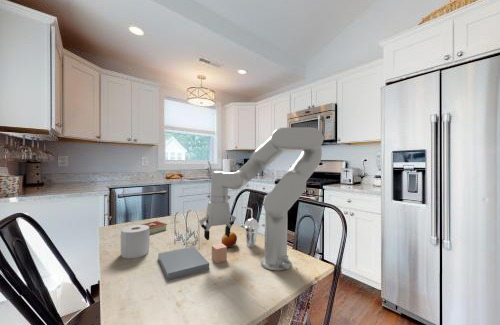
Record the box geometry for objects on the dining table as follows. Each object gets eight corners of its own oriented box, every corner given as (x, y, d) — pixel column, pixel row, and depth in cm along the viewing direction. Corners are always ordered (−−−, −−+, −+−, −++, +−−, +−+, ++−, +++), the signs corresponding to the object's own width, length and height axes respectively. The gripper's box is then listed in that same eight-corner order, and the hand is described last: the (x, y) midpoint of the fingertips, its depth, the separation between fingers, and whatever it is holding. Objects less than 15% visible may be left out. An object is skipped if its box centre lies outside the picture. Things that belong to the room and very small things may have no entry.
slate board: (209, 269, 89) (209, 263, 89) (167, 280, 80) (167, 273, 80) (193, 251, 106) (193, 246, 106) (158, 259, 97) (158, 253, 97)
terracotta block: (226, 260, 97) (226, 246, 97) (216, 263, 94) (216, 249, 94) (221, 256, 101) (222, 243, 101) (211, 258, 98) (211, 245, 98)
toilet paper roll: (142, 246, 112) (142, 223, 111) (154, 252, 104) (154, 228, 104) (116, 253, 102) (116, 228, 102) (127, 261, 95) (127, 234, 95)
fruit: (238, 246, 108) (230, 232, 109) (225, 253, 110) (217, 239, 111) (242, 241, 116) (234, 227, 117) (229, 247, 118) (222, 234, 118)
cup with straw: (252, 249, 108) (253, 209, 108) (238, 245, 114) (239, 206, 114) (262, 244, 115) (263, 206, 115) (248, 240, 121) (249, 204, 121)
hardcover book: (122, 235, 128) (123, 227, 128) (156, 226, 146) (156, 220, 146) (133, 239, 122) (133, 232, 121) (167, 230, 139) (167, 223, 139)
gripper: (232, 196, 105) (230, 232, 105) (197, 198, 96) (195, 237, 96) (240, 199, 99) (238, 237, 99) (203, 201, 90) (201, 243, 90)
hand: (217, 237), depth 98 cm, fingers open, 9 cm apart
